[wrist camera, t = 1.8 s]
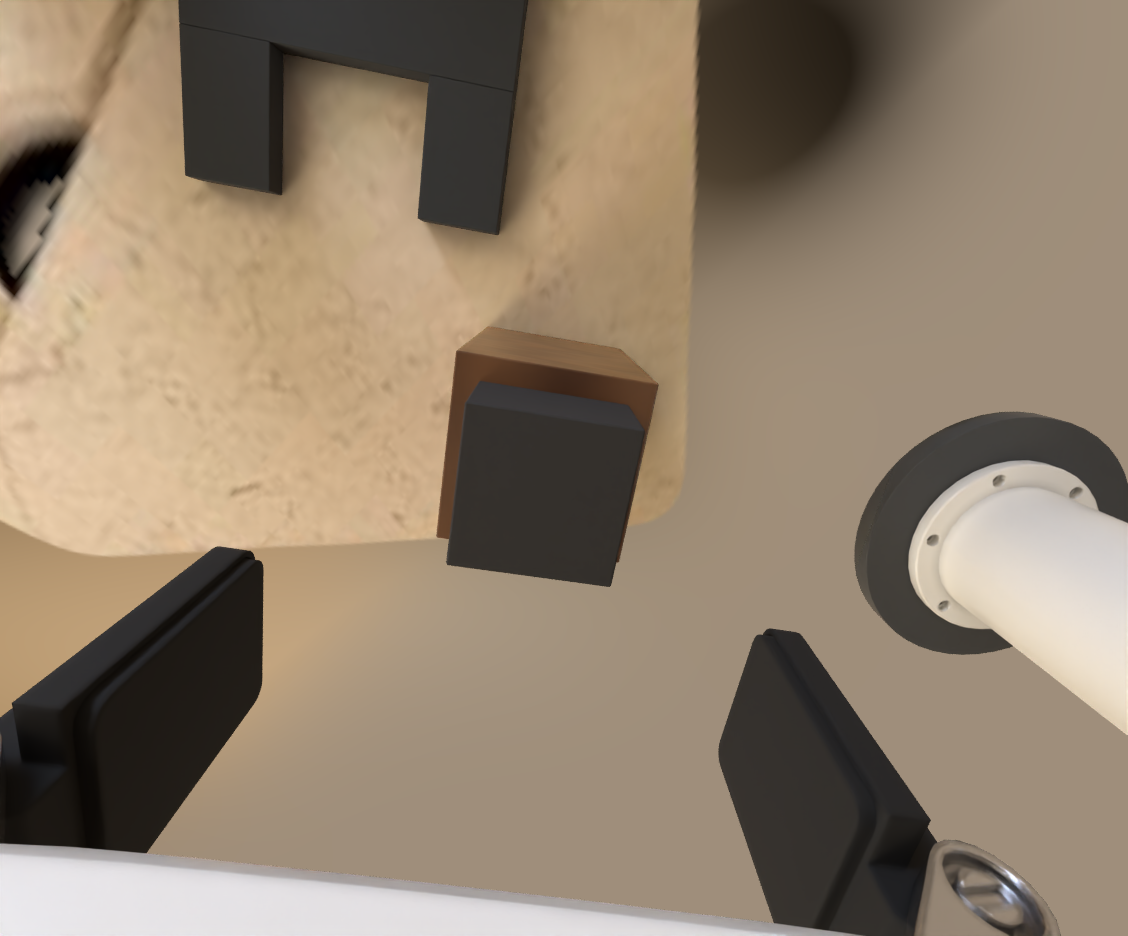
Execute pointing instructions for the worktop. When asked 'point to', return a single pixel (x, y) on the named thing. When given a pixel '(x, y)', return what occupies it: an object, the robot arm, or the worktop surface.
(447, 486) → the brown wooden block
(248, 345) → the worktop surface
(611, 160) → the worktop surface
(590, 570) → the black squat block
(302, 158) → the worktop surface
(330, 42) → the black u-shaped block
